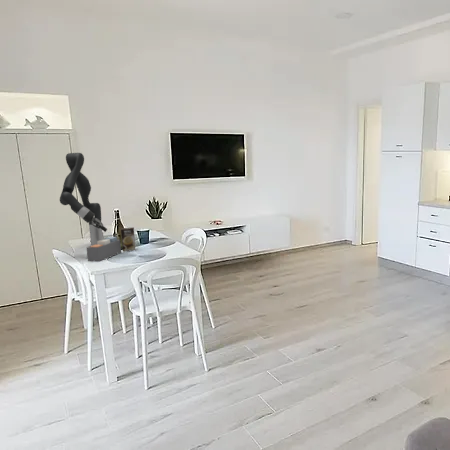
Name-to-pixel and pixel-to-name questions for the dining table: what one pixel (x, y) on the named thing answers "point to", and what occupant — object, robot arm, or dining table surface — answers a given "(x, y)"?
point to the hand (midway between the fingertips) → (106, 230)
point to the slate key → (112, 239)
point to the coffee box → (128, 239)
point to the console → (103, 251)
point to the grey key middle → (103, 242)
